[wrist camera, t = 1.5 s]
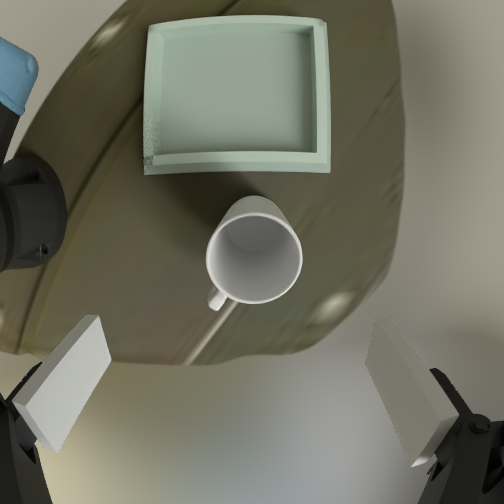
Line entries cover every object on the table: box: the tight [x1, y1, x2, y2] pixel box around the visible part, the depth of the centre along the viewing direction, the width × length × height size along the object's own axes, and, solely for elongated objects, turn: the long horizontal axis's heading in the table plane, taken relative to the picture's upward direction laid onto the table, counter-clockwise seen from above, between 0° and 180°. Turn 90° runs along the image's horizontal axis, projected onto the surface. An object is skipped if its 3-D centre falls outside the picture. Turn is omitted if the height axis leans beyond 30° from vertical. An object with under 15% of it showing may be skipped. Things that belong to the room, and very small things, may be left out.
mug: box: [206, 196, 302, 311], centre depth 27 cm, size 10×7×12 cm, turn 143°
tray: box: [143, 15, 331, 175], centre depth 26 cm, size 20×18×3 cm
